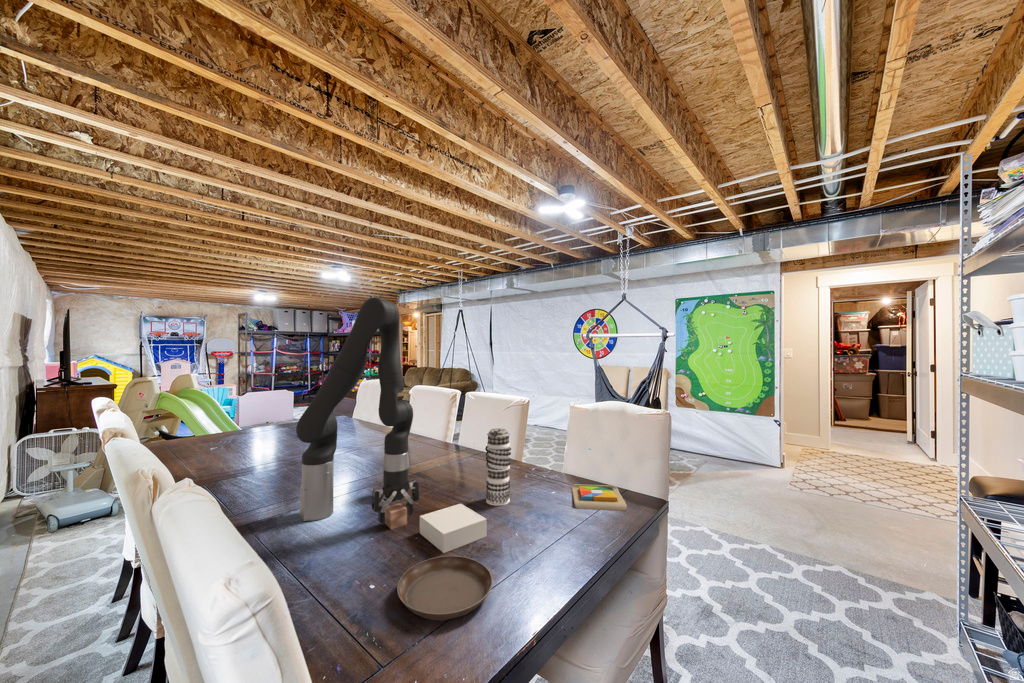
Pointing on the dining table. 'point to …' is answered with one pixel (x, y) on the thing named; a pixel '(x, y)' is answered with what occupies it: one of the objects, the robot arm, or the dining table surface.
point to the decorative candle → (498, 467)
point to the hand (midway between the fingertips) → (395, 519)
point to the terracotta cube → (396, 516)
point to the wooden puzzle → (598, 497)
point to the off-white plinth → (453, 527)
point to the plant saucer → (444, 587)
